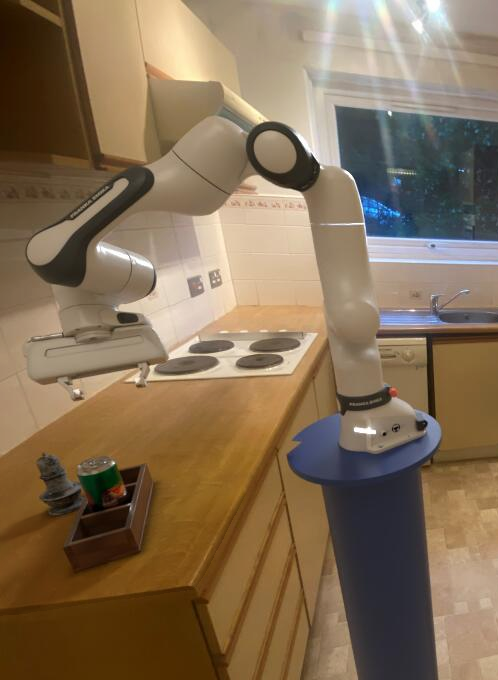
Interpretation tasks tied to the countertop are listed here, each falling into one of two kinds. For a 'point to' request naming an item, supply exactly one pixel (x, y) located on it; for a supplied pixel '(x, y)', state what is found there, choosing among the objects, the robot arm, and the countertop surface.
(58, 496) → the grey stacked stone piece
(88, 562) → the wooden compartment tray
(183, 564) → the countertop surface
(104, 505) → the soda can
